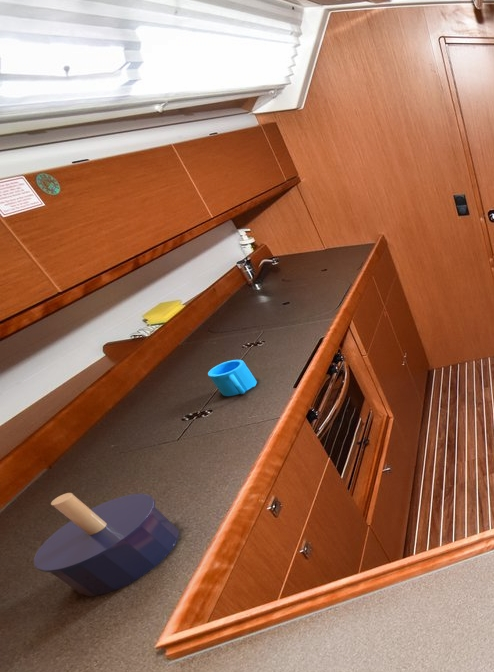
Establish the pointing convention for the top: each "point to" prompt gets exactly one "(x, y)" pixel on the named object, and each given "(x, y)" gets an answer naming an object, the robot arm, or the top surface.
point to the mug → (232, 377)
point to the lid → (91, 530)
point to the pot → (124, 559)
